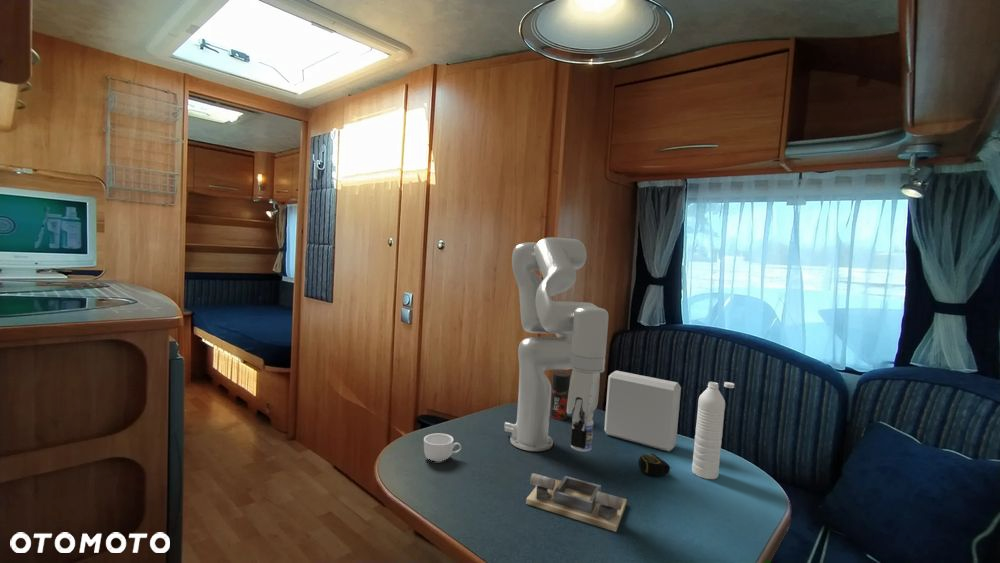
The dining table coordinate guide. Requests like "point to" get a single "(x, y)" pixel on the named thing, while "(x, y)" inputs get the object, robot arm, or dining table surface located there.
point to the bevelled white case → (642, 409)
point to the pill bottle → (589, 434)
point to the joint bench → (577, 500)
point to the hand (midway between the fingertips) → (581, 441)
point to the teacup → (439, 446)
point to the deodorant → (559, 395)
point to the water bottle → (709, 432)
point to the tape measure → (653, 465)
